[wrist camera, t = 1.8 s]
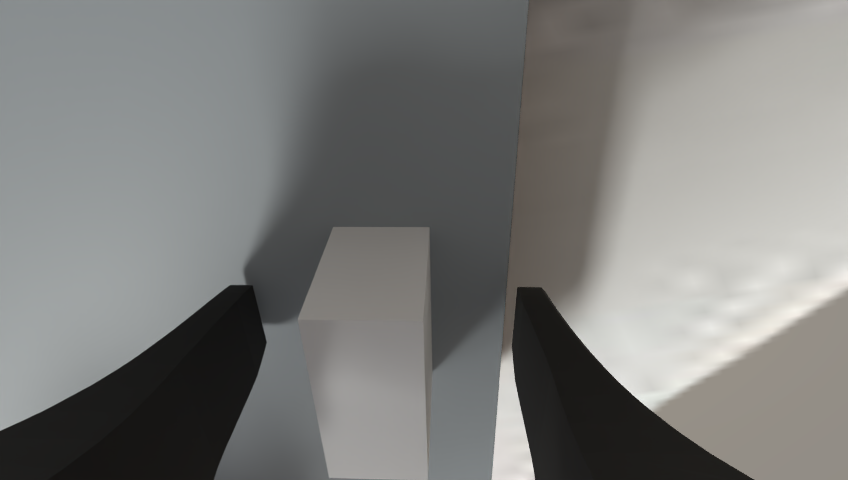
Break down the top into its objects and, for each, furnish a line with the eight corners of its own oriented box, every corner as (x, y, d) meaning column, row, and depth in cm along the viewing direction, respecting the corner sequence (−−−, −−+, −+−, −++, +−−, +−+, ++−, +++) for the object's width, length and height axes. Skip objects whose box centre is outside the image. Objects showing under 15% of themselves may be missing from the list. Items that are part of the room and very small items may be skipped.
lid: (488, 480, 19) (496, 613, 16) (23, 468, 20) (-73, 590, 17) (529, -100, 10) (579, -115, 6) (-362, -74, 11) (-802, -74, 7)
